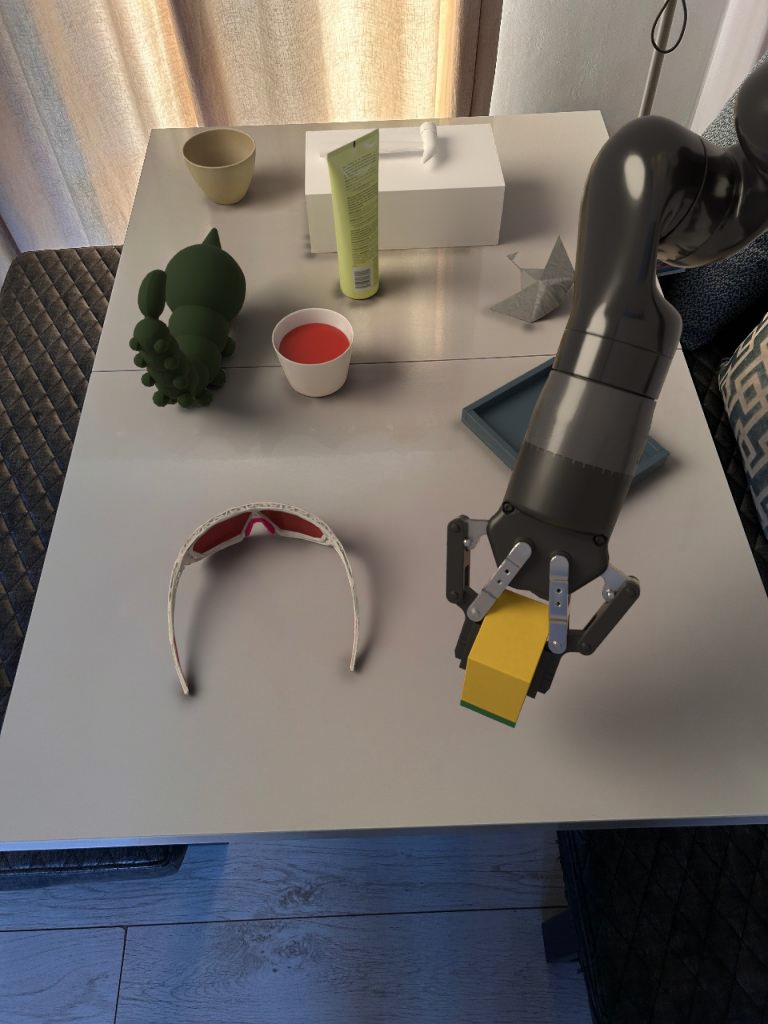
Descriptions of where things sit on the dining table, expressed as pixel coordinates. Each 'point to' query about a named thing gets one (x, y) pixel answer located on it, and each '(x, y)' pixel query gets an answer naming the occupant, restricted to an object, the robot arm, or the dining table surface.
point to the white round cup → (314, 350)
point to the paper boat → (540, 287)
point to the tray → (509, 414)
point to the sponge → (505, 657)
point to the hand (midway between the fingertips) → (498, 678)
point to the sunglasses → (239, 525)
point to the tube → (356, 213)
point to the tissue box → (416, 186)
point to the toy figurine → (188, 323)
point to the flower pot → (221, 163)
